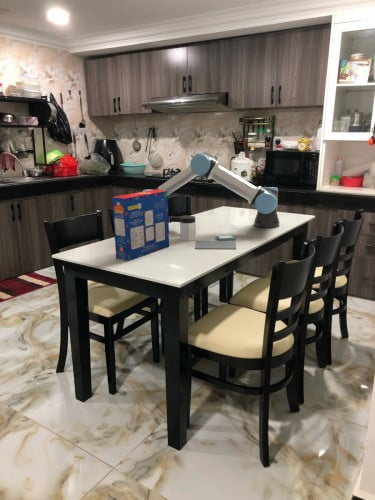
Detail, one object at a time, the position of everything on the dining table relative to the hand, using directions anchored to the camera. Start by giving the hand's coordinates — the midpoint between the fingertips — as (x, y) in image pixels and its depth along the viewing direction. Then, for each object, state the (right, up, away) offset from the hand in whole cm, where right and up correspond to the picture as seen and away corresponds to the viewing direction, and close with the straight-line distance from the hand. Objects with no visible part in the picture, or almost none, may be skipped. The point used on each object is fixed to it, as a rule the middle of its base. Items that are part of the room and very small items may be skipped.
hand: (177, 224), depth 213 cm
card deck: (+26, -9, -7) cm, 28 cm away
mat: (+20, -12, -19) cm, 30 cm away
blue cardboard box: (-15, -16, -28) cm, 36 cm away
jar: (+6, -9, -6) cm, 12 cm away
